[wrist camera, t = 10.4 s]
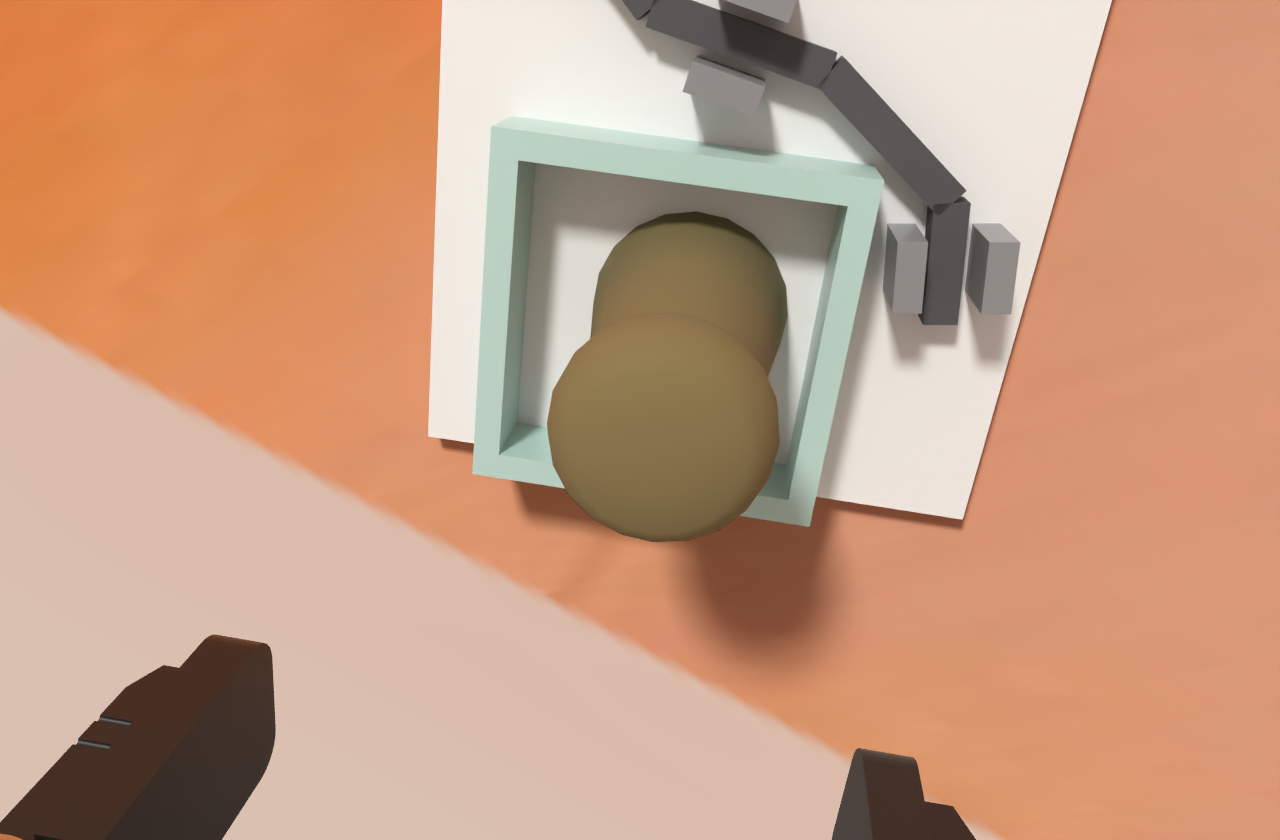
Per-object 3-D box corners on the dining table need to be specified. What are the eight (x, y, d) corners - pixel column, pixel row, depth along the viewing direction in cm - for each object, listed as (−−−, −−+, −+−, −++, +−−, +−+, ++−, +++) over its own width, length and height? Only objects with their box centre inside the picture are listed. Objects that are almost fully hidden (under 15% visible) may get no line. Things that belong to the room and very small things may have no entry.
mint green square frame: (874, 165, 28) (884, 180, 26) (806, 489, 33) (809, 526, 30) (512, 115, 29) (491, 125, 27) (492, 441, 33) (472, 473, 31)
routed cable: (1024, 255, 29) (1032, 264, 28) (932, 330, 30) (938, 341, 29) (613, -203, 25) (607, -210, 25) (528, -98, 27) (520, -101, 26)
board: (1140, -134, 25) (1189, -151, 22) (958, 508, 33) (977, 557, 30) (458, -215, 26) (420, -241, 23) (435, 426, 34) (405, 467, 31)
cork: (701, 434, 32) (675, 633, 22) (555, 319, 31) (458, 472, 21) (829, 297, 30) (865, 451, 20) (676, 168, 29) (632, 261, 19)
